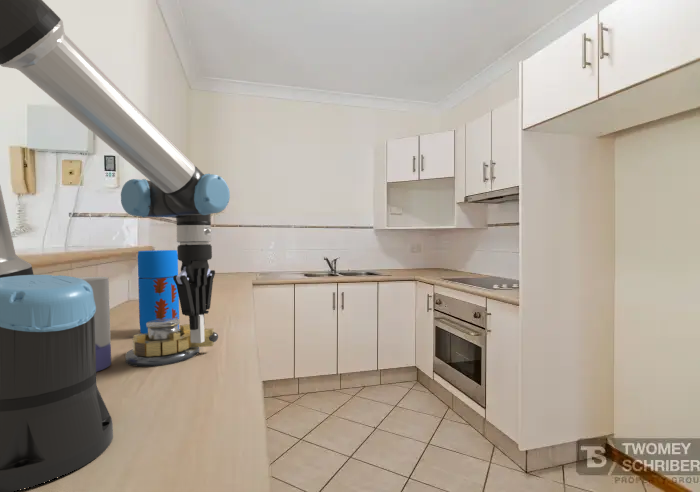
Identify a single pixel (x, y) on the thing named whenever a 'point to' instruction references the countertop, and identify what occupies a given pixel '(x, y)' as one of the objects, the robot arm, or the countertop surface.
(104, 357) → the container
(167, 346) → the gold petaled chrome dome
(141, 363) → the base
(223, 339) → the countertop surface
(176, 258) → the thermos
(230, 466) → the countertop surface
